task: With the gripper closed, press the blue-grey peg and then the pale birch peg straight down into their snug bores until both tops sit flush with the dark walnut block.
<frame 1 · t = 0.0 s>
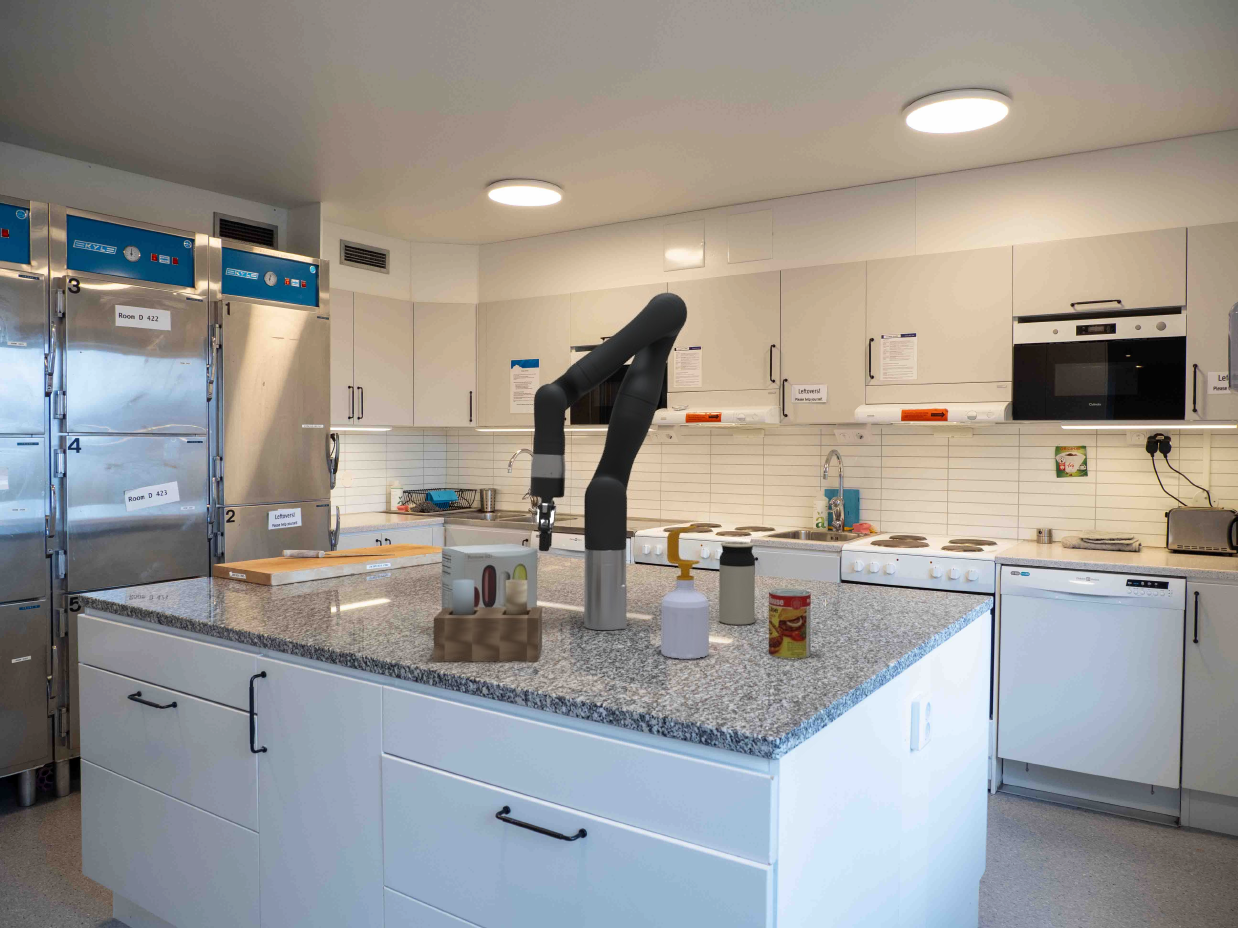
hand: (545, 548, 185), 17 cm above the countertop, tool pointing down, fingers open, 8 cm apart
walnut block: (489, 654, 159), on the countertop
blue-grey peg: (463, 600, 158), point 10 cm above the countertop, slide at 0.0 cm
canned food: (789, 655, 160), on the countertop
supplement box: (489, 631, 181), on the countertop
birch peg: (516, 600, 159), point 10 cm above the countertop, slide at 0.0 cm
travel mug: (736, 622, 191), on the countertop
soap bottle: (684, 655, 160), on the countertop
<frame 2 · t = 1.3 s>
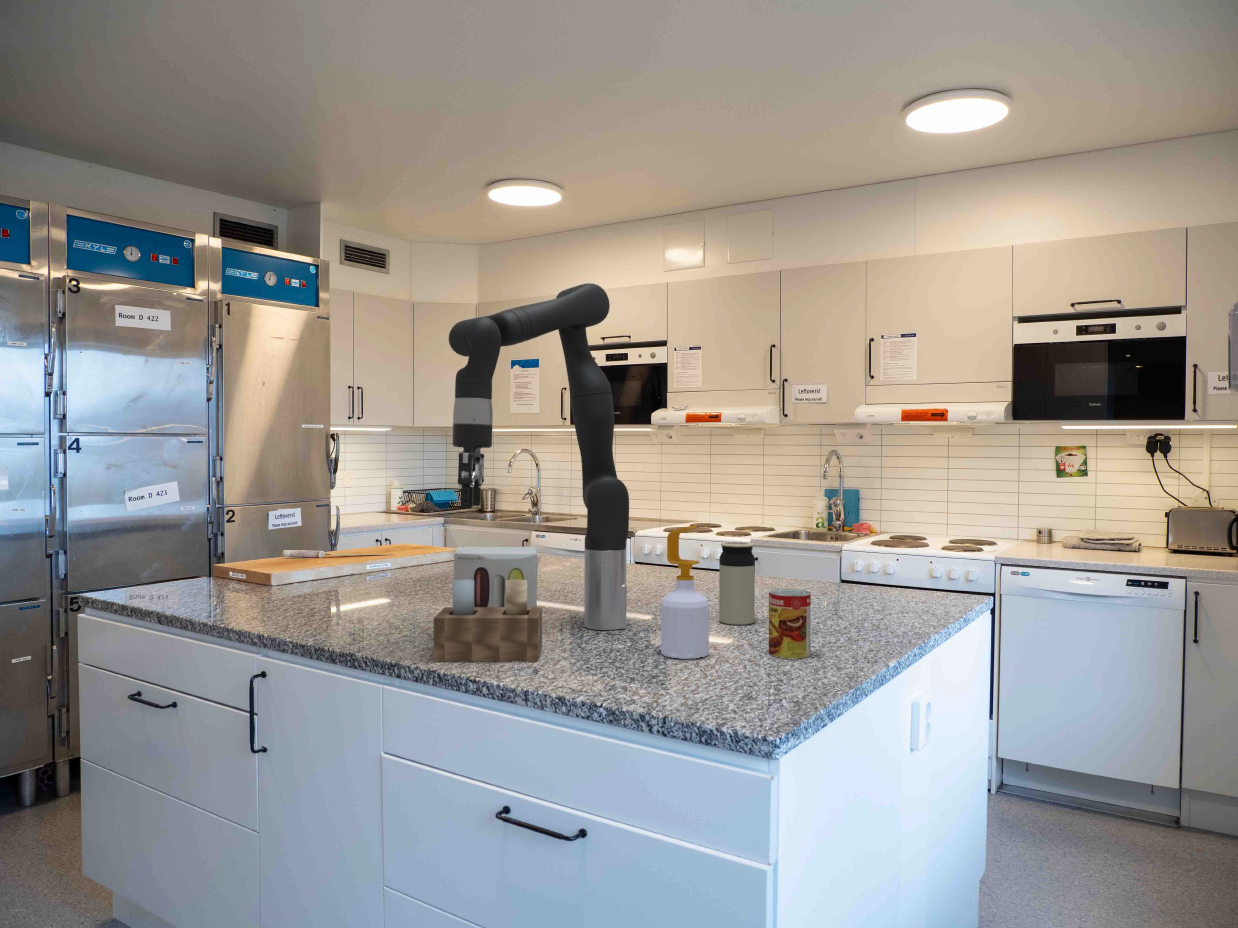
hand: (470, 506, 161), 28 cm above the countertop, tool pointing down, fingers open, 8 cm apart
supplement box: (495, 635, 177), on the countertop
everything else where it was.
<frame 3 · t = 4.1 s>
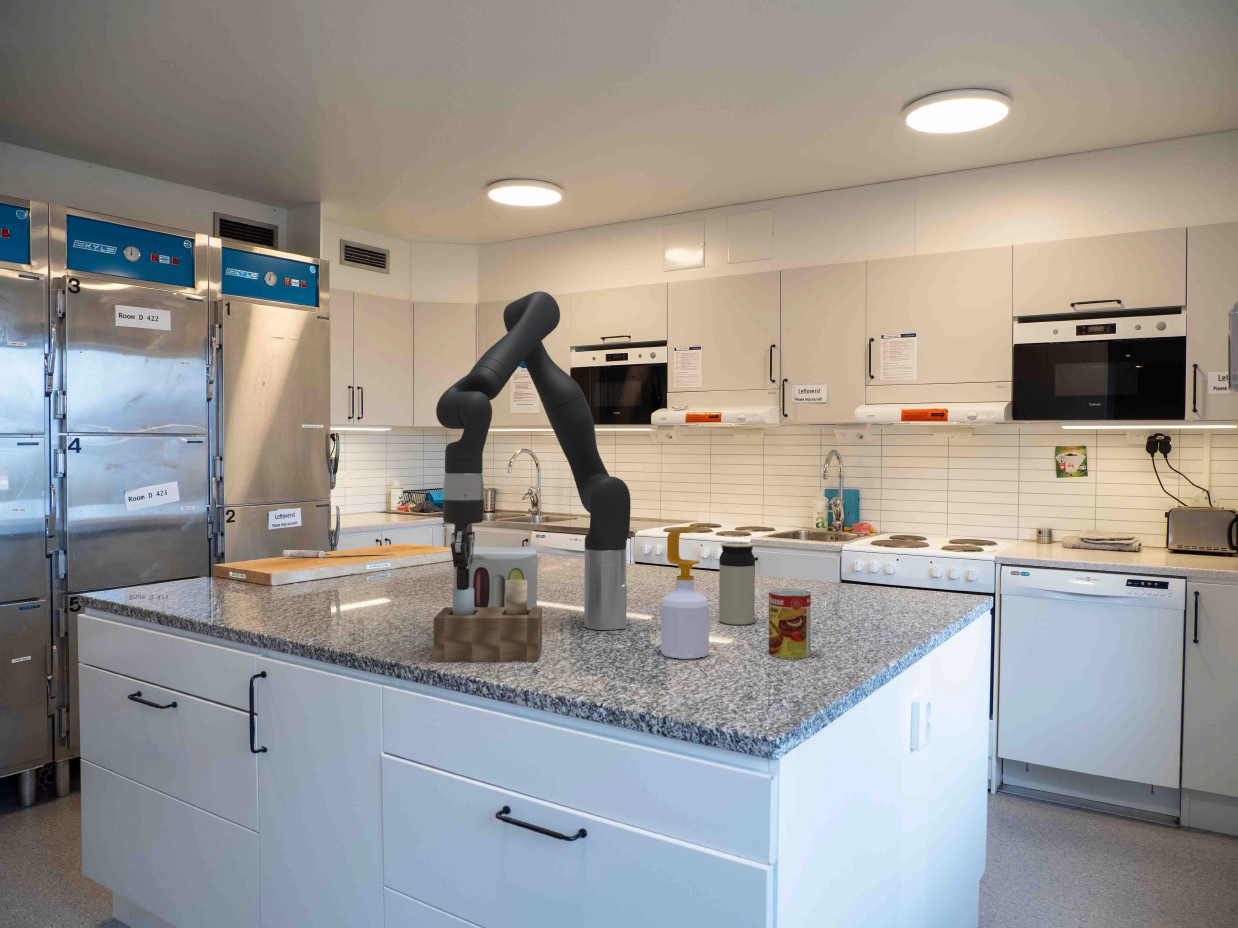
hand: (463, 588, 159), 12 cm above the countertop, tool pointing down, fingers closed
blue-grey peg: (463, 608, 159), point 9 cm above the countertop, slide at 1.6 cm, touching gripper
everything else where it was.
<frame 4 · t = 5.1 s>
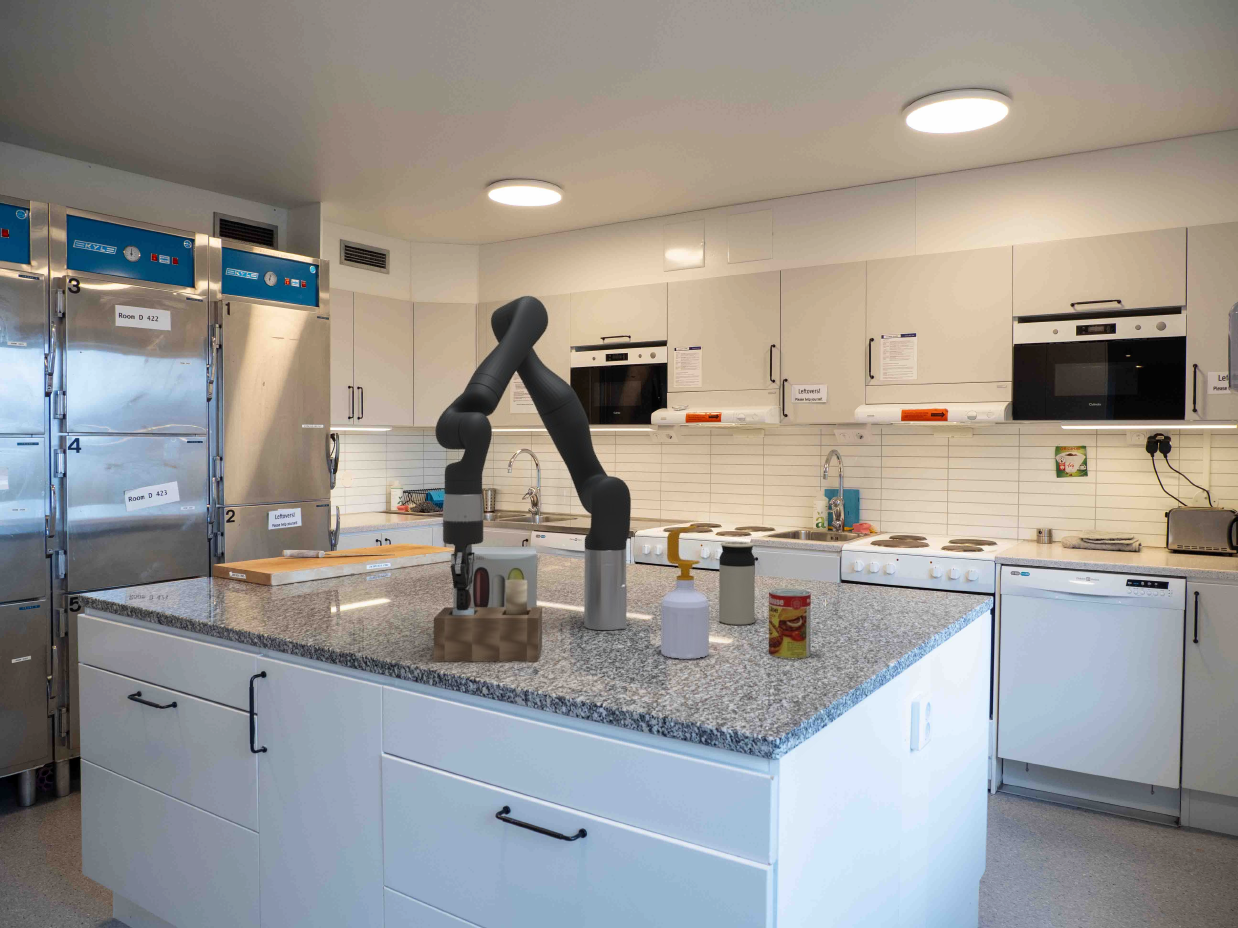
hand: (462, 609, 159), 9 cm above the countertop, tool pointing down, fingers closed
blue-grey peg: (463, 629, 159), point 5 cm above the countertop, slide at 5.4 cm, touching gripper
everything else where it was.
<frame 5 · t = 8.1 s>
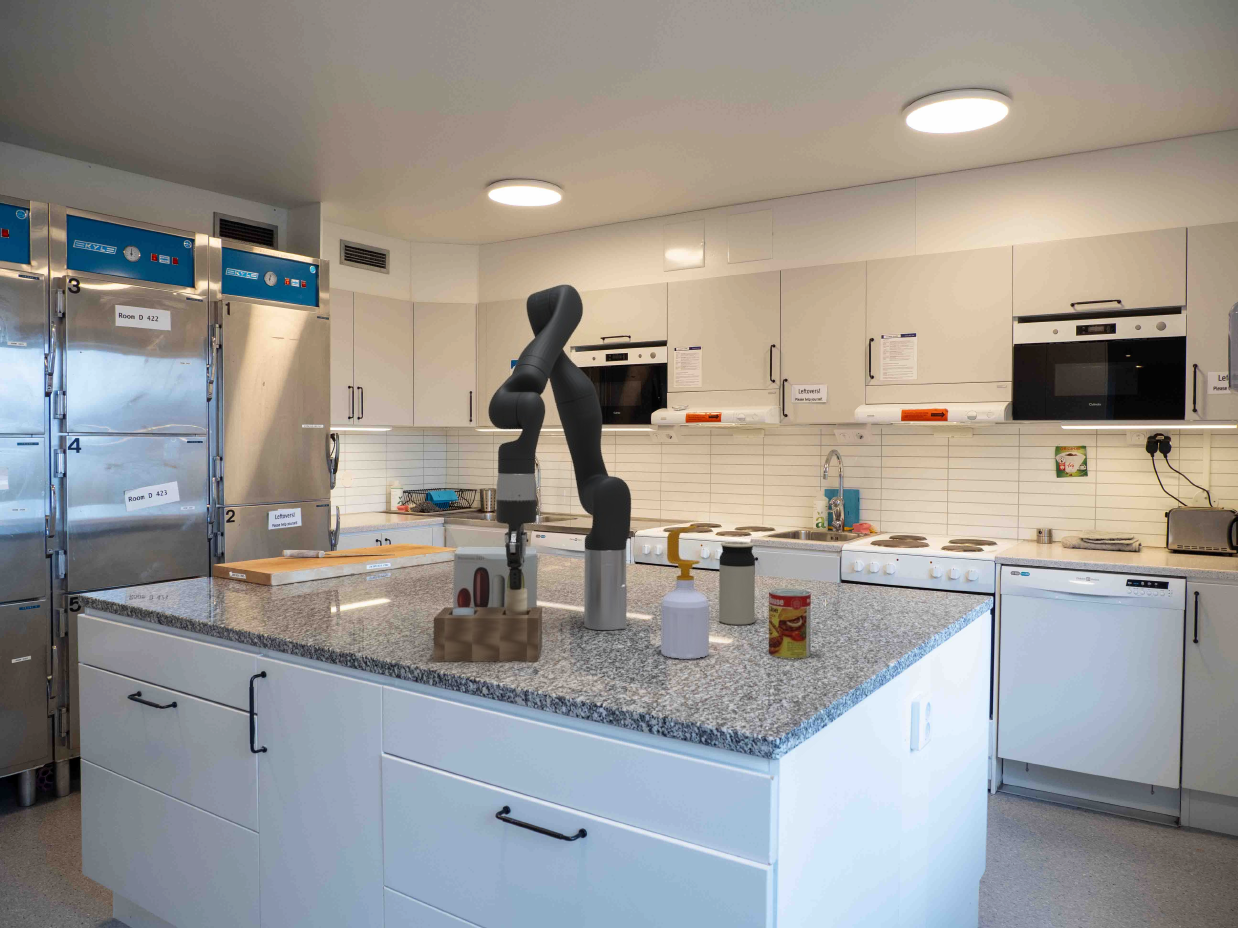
hand: (515, 588, 159), 12 cm above the countertop, tool pointing down, fingers closed
blue-grey peg: (463, 629, 159), point 5 cm above the countertop, slide at 5.5 cm
birch peg: (516, 608, 159), point 9 cm above the countertop, slide at 1.6 cm, touching gripper
everything else where it was.
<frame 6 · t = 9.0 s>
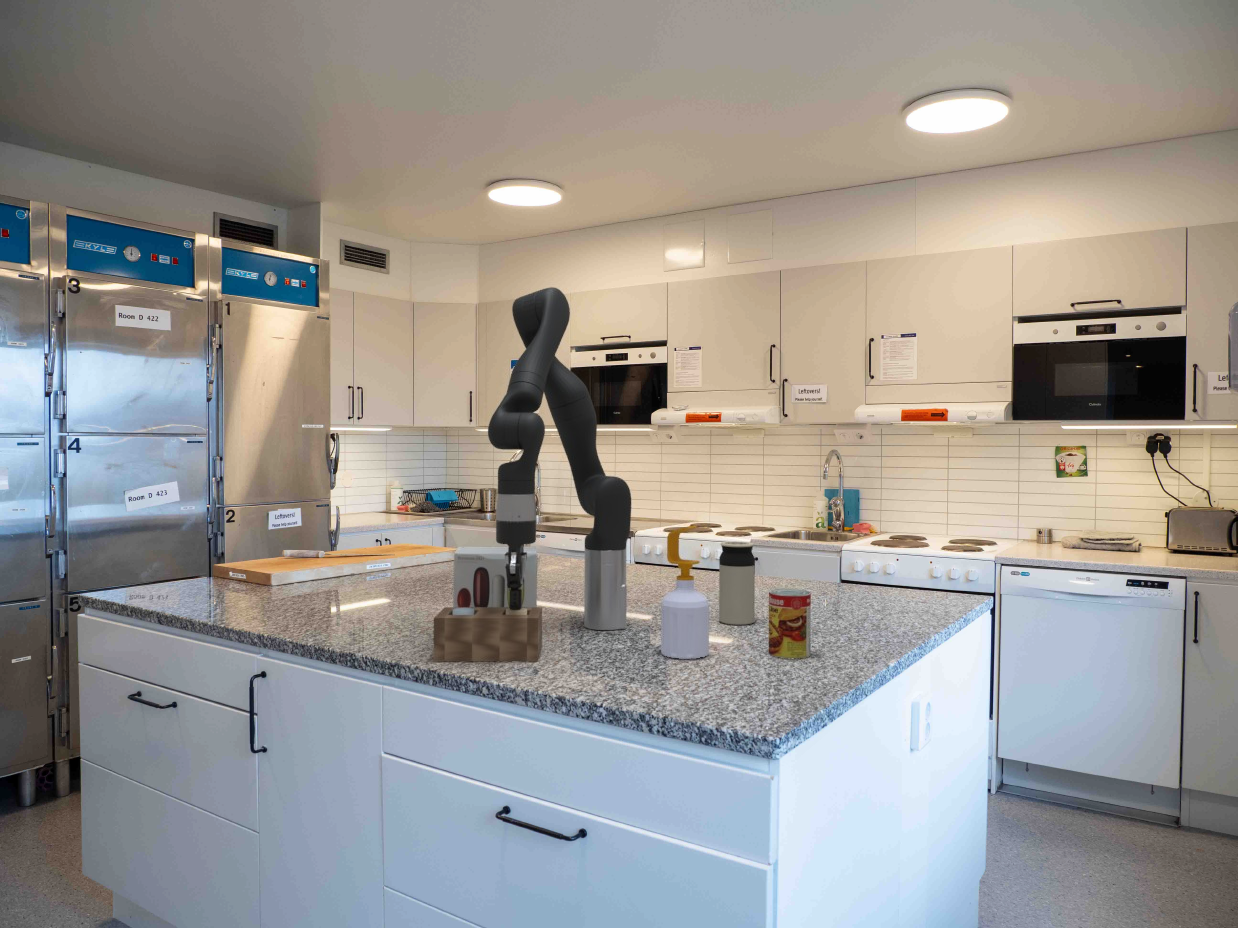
hand: (515, 609, 159), 9 cm above the countertop, tool pointing down, fingers closed
birch peg: (516, 629, 159), point 5 cm above the countertop, slide at 5.4 cm, touching gripper
everything else where it was.
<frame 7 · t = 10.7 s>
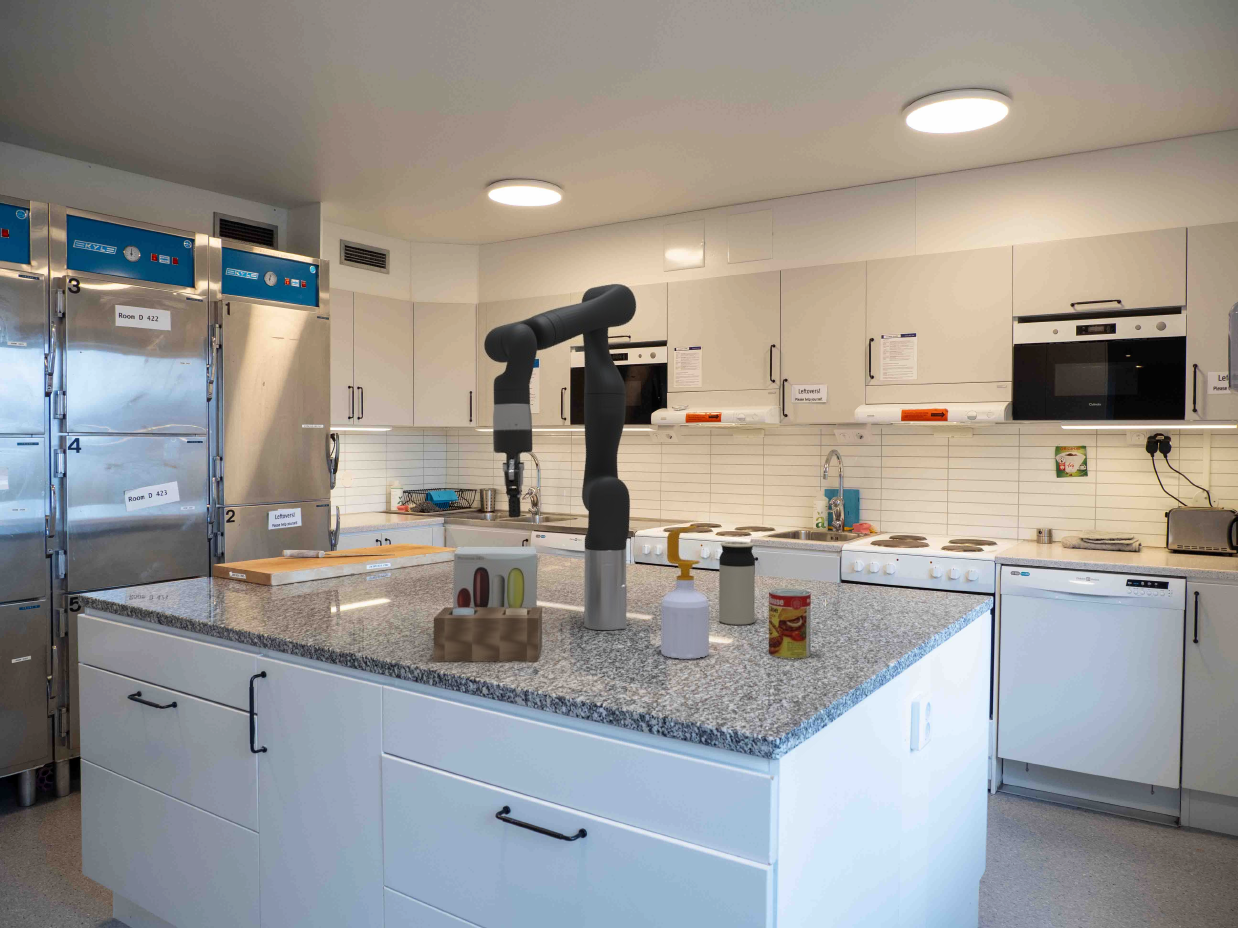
hand: (514, 517, 163), 26 cm above the countertop, tool pointing down, fingers closed
birch peg: (516, 629, 159), point 5 cm above the countertop, slide at 5.5 cm
everything else where it was.
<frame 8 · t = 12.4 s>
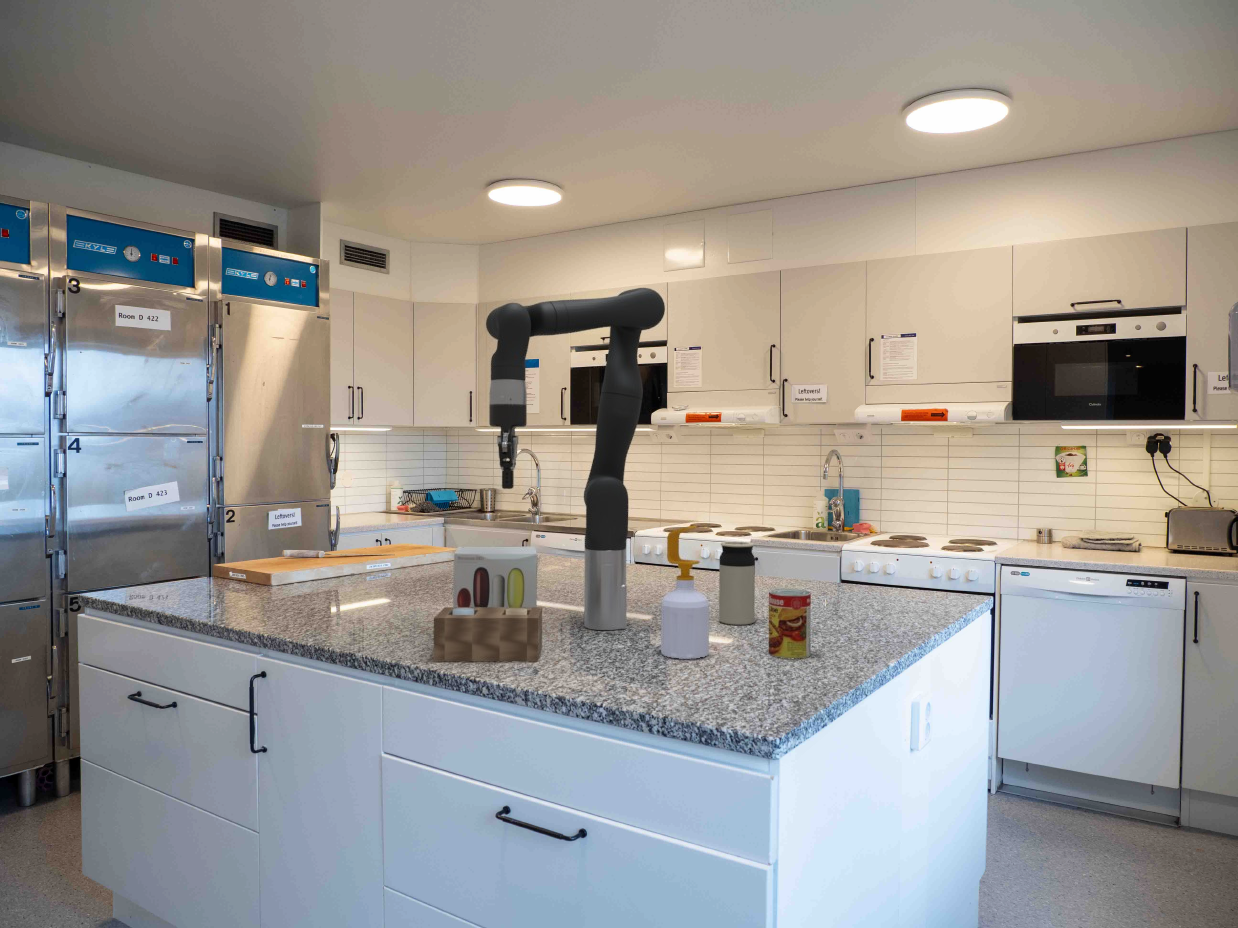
hand: (507, 488, 170), 31 cm above the countertop, tool pointing down, fingers closed
nothing on the countertop moved.
at the end: blue-grey peg slide at 5.5 cm; birch peg slide at 5.5 cm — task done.
